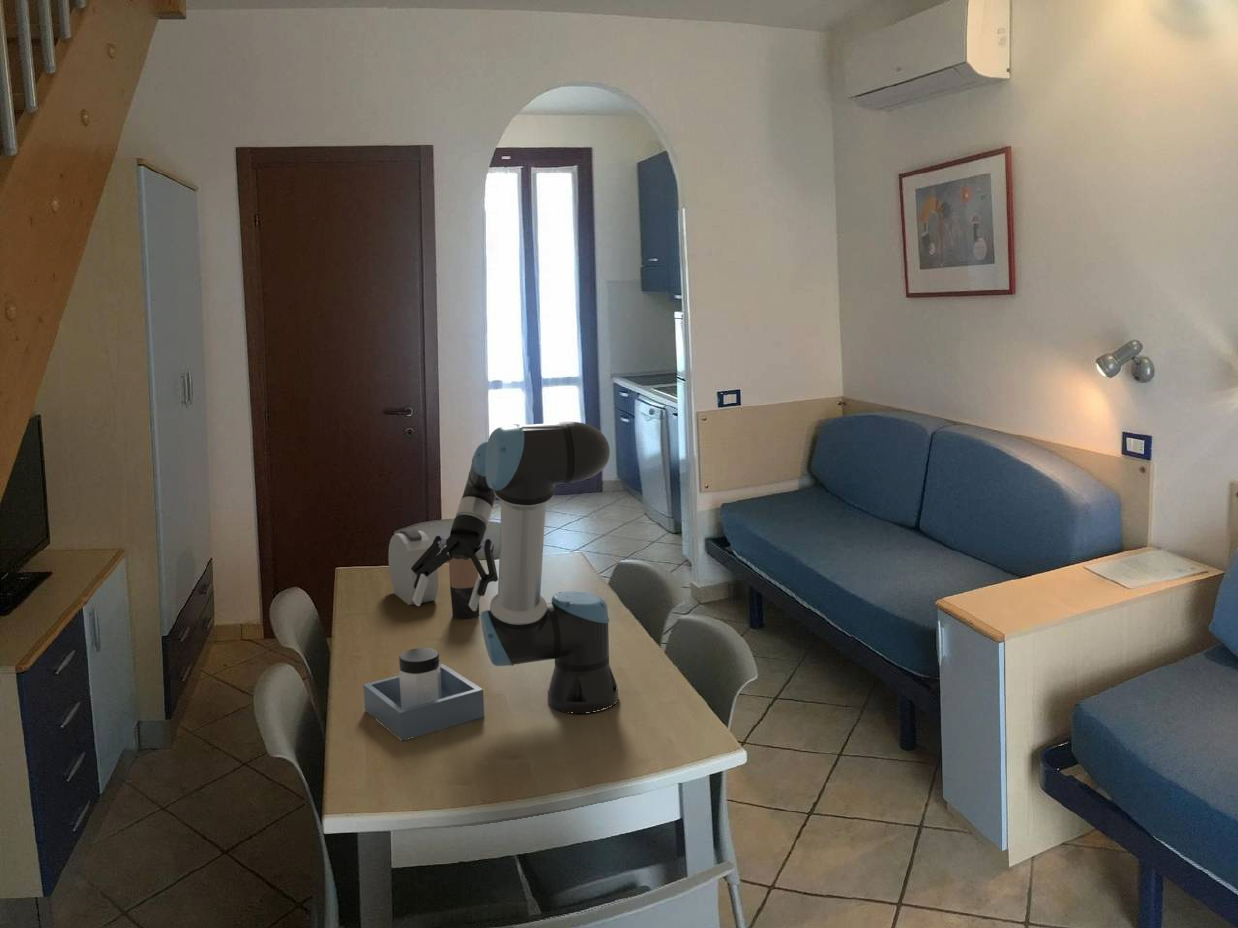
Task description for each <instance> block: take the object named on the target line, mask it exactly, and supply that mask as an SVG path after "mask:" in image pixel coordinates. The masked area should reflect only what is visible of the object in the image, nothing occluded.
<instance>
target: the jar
mask: <svg viewBox="0 0 1238 928" xmlns="http://www.w3.org/2000/svg"><path fill="white" fill-rule="evenodd" d="M398 661H399V671H398V675H399V680H400V695H401V708H402V709H406V708H410V707H413V706H417V705H421V704H424V703H428V702H431V701H435V700H438V699H442V688H441V671H440V664H441V662H440V655H439V652H438V650H436V649H435V648H431V647H428V648H427V647H419V648H411V649H408V650H405V651H403V652H402V653H401V654H400V655H399V657H398Z"/></svg>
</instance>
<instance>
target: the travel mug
mask: <svg viewBox="0 0 1238 928" xmlns="http://www.w3.org/2000/svg"><path fill="white" fill-rule="evenodd" d="M449 554H450V553H449V552H448V555H449ZM476 555H477V556H478V552H476ZM448 564H449V565H448V569H449V571H448V573H449V590H450V599H451V614H452V617H453V618H454V619H458V620H469V619H470V620H472V619H474V618H476V617H478V616H479V614H480V602H479V603H478V606H477V610H476V611H473V610H472V609H471V608H470V607H469V602H470V599H471V595H472V592H473V589H474V586H475V583H476V579H477V578H479V573H478V571H477V569H476V567H475V565H474V563H473V561H472V559H471V558H469V559H468V560H464V559H455V558H453V559H451V560H450V561H448Z"/></svg>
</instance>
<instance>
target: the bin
mask: <svg viewBox="0 0 1238 928" xmlns="http://www.w3.org/2000/svg"><path fill="white" fill-rule="evenodd" d="M440 671H441V688H442V699H438V700H435V701H431V702H428V703H424V704H421V705H417V706H413V707H410V708H406V709H402V708H401V695H400V680H399V674H398V675H394V676H391V677H387V678H383V679H379V680H375V681H371V682H369V683H363V696H364V697H363V698H364V711H365V710H366V711H368V713H370V714H371V715H372V716H373V717H374V718H375V719H377V720H378V721H379V722H380V723H382V724H383V725H384V726H385V727H386V728H388V729H389V730H390V731H391V732H392V733H393V734H395V735H396V736H397V737H399V738H400V739H401V740H405V739H408V738H411V737H416V738H418V737H422V736H425V734H426V735H428V733H429V734H432V733H435V732H439V731H442V730H445V729H448V728H452V727H455V726H458V725H462V724H465V723H468V722H472V721H475V720H477V719H478V720H479V719H481V718H485V705H484V704H485V701H484V689H483V688H481V687H480V686H478V685H477V684H475V683H474V682H472V681H471V680H469V679H467V678H465V677H464V676H463V675H462V674H459V673H458V672H457V671H456V670H455V671H454V670H453V669H452V668H450V667H448V666H447V665H445V663H440ZM366 711H365V712H366ZM368 713H367V714H368ZM372 716H371V717H372ZM373 717H372V718H373ZM374 718H373V719H374ZM375 719H374V720H375ZM378 721H377V722H378ZM379 722H378V723H379ZM380 723H379V724H380ZM384 726H383V727H384ZM385 727H384V728H385ZM386 728H385V729H386ZM390 731H389V732H390ZM391 732H390V733H391ZM431 732H432V733H431ZM392 733H391V734H392ZM393 734H392V735H393ZM421 735H422V736H421ZM396 736H395V737H396ZM417 736H418V737H417ZM397 737H396V738H397Z"/></svg>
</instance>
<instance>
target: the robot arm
mask: <svg viewBox="0 0 1238 928" xmlns="http://www.w3.org/2000/svg"><path fill="white" fill-rule="evenodd" d="M610 451H611V449H610V444H609V442H608V439H607V437H606V436H605V435H604V434H603V433H602V431H601V430H599V429H598V428H596V427H594V426H592V425H590V424H587V423H583V422H578V421H563V422H562V421H561V422H549V423H548V422H547V423H535V424H534V423H533V424H519V423H517V424H516V423H515V424H512V425H507V426H500V427H497V428H495V429H494V430H493V431H492V432H491V434H490V435H489V437H488V440H486V441H484V442H482V443H481V444H479V445H478V446H477V448H476V450H475V451H474V454H473V456H472V460H471V464H470V465H471V466H470V470H469V472H468V477H467V480H466V483H465V486H464V490H463V493H462V497H461V499H460V501H459V504H458V508H457V510H456V512H455V517H454V519H453V521H452V525H451V528H450V532H449V533H450V534H449V535H448V536H449V537H447V538H443V537H441V536H440V535H436V536H435V537H434V539H433V541H432V543H431V546H430V547H429V548H428V549H427V550H426V552H425V553H424V554H423V555H422V556H421V557H420V558H419V559H418V561H417V562H416V563H415V564H414V565H413V566H412V567H411V570H412V571H413V572H414V573H415V574H416V575H417V578H416V581H415V583H414V588H415V589H416V590H415V593H414V596H413V599H412V601H413V602H414V603H415V604H414V605H415V606H416V607H420V606H421V604H422V603H421V601H422V598H423V595H424V592H425V589H426V586H427V584H428V581H429V579H428V578H427V576H429V575H430V574H431V573H433V572H434V571H435V570H436V569H437V570H438V569H439V568H441V566H443V565H444V564H446V563H447V562H449V561H450V560H451V559H453V558H455V559H464V560H468V559H469V558H471V559H472V561H473V563H474V565H475V567H476V569H477V571H478V576H479V577H480V578H479V577H478V578H477V579H476V583H475V586H474V589H473V592H472V595H471V599H470V602H469V607H470V608H471V609H472V610H473V611H476V610H477V606H478V603H479V604H480V600H481V597H484V596H485V594H486V593H487V588H488V585H489V583H492V582H494V583H496V582H497V581H498V585H497V594H495V596H494V597H492V598H491V601H490V604H489V609H486V610H484V611H482V612H481V614H480V624H481V629H482V634H483V639H484V644H485V648H486V651H487V654H488V657H489V661H490V662H491V664H492V665H494V666H496V667H505V666H509V667H511V666H512V667H513V666H514V665H521V664H527V663H534V662H541V661H543V662H544V661H548V660H549V661H550V660H554V668H553V671H552V675H551V678H550V682H549V687H547V688H548V689H547V703H548V705H549V706H550V707H551V708H552V709H554V710H556V709H557V710H556V711H558V710H560V711H559V712H561V711H564V712H563V713H565V712H569V713H568V714H572V713H571V712H573V713H586V712H593V711H597V710H601V709H603V708H607V707H609V706H611V705H613V704H614V703H615V702H616V701H617V699H618V700H619V687H618V685H617V681H616V679H615V677H614V673H613V671H612V668H611V664H610V643H609V642H610V639H609V623H610V618H609V611H608V604H607V602H606V600H605V599H603V598H602V597H600V596H599V595H596V594H593V593H589V592H585V591H577V590H564V591H560V592H556V593H554V594H553V595H552V597H551V602H549V603H548V602H547V601H546V600H545V598H544V597H543V596H542V595H541V593H542V592H541V588H542V574H543V572H542V571H543V557H544V554H543V553H544V540H545V539H544V538H545V523H546V506H547V504H546V503H548V502H550V501H551V500H552V499H553V498H554V495H555V493H556V485H560V484H561V485H562V484H570V483H571V484H572V483H578V482H582V481H585V480H587V479H591V478H592V477H595V476H597V475H598V474H599V473H600V472H602V471H603V470H604V469H605V467H607V466H606V465H607V464H608V462H609V459H610V454H611V453H610ZM496 499H499V500H500V501H501V503H500V527H499V528H500V531H499V551H498V553H499V556H498V558H499V559H498V572H497V567H496V562H495V558H494V557H495V556H494V548H495V546H494V543H493V542H492V540H491V539H489V538H487V539H485V541H483V540H484V537H485V534H486V532H487V525H488V523H489V521H490V517H491V514H492V512H493V508H494V504H495V502H496ZM481 549H482V550H483V551H484V555H485V557H484V558H485V560H486V566H487V571H488V573H486V571H485V569H484V567H483V565H482V563H481V561H480V559H479V557H478V554H477V555H476V552H477V553H478V551H480V550H481ZM449 553H450V554H449ZM617 702H618V701H617Z"/></svg>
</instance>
